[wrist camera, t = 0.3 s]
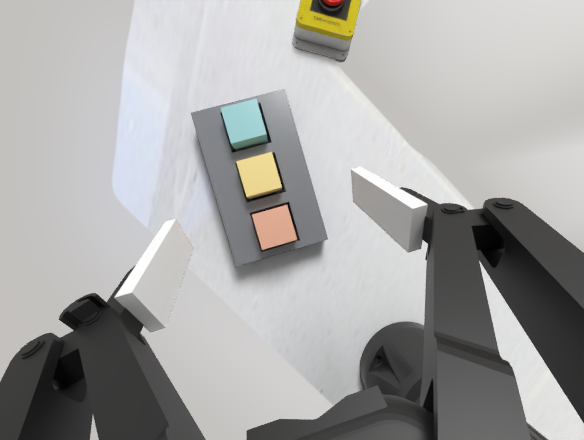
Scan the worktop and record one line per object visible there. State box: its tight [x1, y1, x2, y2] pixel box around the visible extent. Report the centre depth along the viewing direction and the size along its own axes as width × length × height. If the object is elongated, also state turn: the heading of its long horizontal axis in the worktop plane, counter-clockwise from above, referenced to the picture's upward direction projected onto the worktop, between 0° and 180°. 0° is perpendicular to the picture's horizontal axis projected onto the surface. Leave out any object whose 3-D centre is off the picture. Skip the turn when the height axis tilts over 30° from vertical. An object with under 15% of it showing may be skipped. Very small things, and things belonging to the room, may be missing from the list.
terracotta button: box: [252, 205, 297, 250], centre depth 30 cm, size 5×5×3 cm
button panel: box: [191, 89, 328, 267], centre depth 32 cm, size 23×14×3 cm, turn 16°
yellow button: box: [236, 152, 282, 199], centre depth 30 cm, size 5×5×3 cm
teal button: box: [221, 99, 268, 151], centre depth 29 cm, size 5×5×3 cm
